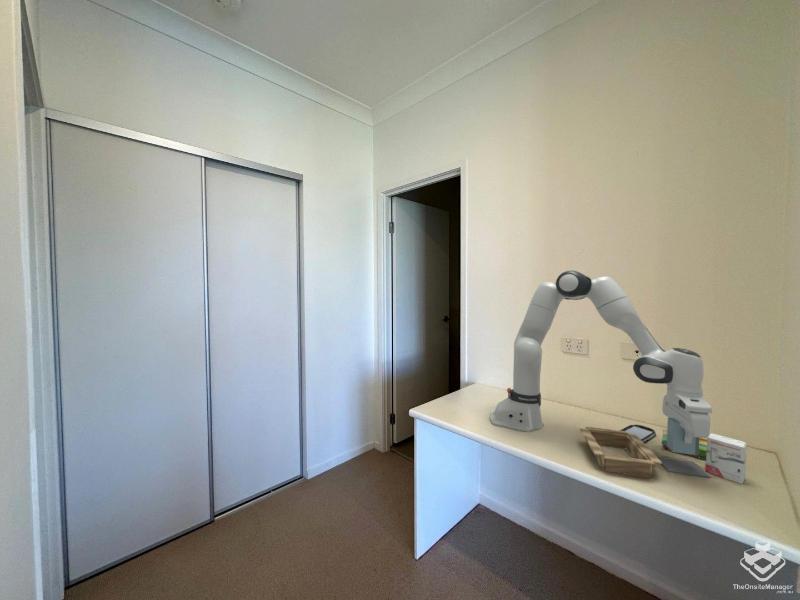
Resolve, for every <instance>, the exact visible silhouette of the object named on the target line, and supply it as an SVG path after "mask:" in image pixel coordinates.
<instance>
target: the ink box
mask: <svg viewBox="0 0 800 600" xmlns="http://www.w3.org/2000/svg"><path fill="white" fill-rule="evenodd" d="M706 439H707V453H706V459H705V472H706V473H707V474H710V475H715V476H717V477H720V478H723V479H726V480H728V481H731V482H735V483H738V484H744V483H745V477H746V461H747V459H746V458H747V442H745V441H742V440H739V439H735V438H730V437H728V436H723V435H720V434H717V433H709V436H708V437H707V438H706Z"/></svg>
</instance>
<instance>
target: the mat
mask: <svg viewBox="0 0 800 600" xmlns="http://www.w3.org/2000/svg"><path fill="white" fill-rule="evenodd" d="M656 457H657V458H658V459H659V460H660V461H661V462H662V464H660V465H661V466H662V467H663V468H664V469H665V470H666V471H667V472H668V473H671V474H676V475H677V474H678V475H686V476H691V477H692V476H693V477H698V478H704V479H705V478H706V479H711V476H710V475H709V473H708V472H706V470H704V469H702V468H701V467H700V466H699V465H698V464H697V463H696V462H694V461H693V460H692V461H691V460H684V459H677V458H671V457H663V456H656Z"/></svg>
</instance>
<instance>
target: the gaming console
mask: <svg viewBox="0 0 800 600" xmlns="http://www.w3.org/2000/svg"><path fill="white" fill-rule="evenodd" d="M619 431H626V432H627V433H628V434H635V435H637V437H638V438H639V439H640V440H641V441H642V442H643V443H644V444H645V443H646V442H648V441H649V440H651V439H653V438H654V437H655V436H657V435H656V431H655V429H653V428H651V427H649V426H648V427H647V426H645V425H641V424H629V425H627V426H625V427H623V428H622V429H619ZM647 440H648V441H647Z"/></svg>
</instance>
